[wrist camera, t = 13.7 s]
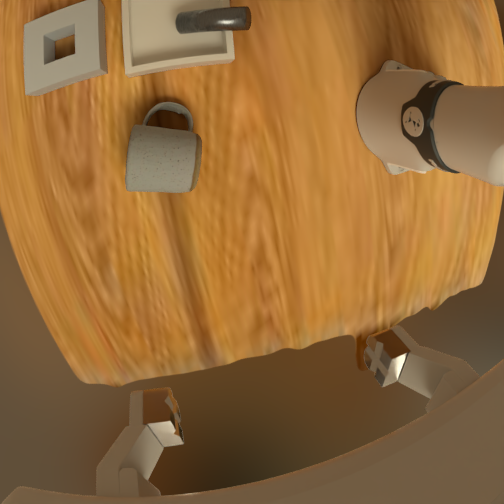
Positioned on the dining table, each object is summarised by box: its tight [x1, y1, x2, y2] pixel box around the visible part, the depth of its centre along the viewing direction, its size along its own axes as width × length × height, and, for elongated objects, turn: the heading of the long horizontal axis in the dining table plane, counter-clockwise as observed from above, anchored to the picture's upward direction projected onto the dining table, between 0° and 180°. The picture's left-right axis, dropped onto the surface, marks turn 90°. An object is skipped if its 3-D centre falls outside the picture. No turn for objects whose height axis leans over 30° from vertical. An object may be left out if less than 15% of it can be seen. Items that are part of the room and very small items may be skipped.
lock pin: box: [176, 6, 251, 34], centre depth 26 cm, size 3×3×8 cm
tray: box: [122, 0, 235, 78], centre depth 27 cm, size 13×13×3 cm
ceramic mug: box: [125, 102, 202, 193], centre depth 31 cm, size 11×8×8 cm
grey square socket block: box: [24, 0, 108, 96], centre depth 24 cm, size 10×10×4 cm
